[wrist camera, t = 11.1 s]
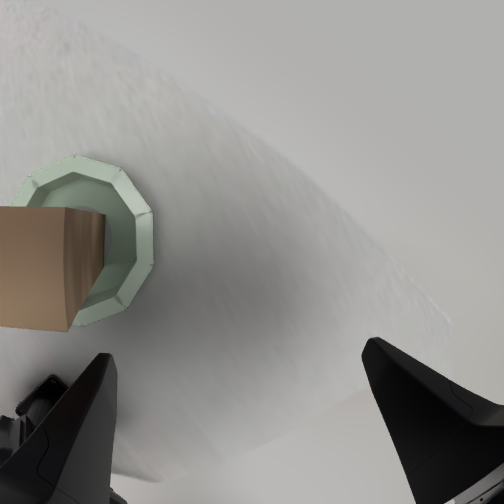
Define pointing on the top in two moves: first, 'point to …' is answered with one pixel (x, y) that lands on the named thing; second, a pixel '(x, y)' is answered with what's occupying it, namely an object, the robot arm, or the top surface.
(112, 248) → the pale green faceted bowl
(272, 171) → the top surface
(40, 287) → the layered tan brick
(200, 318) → the top surface
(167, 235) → the top surface
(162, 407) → the top surface
